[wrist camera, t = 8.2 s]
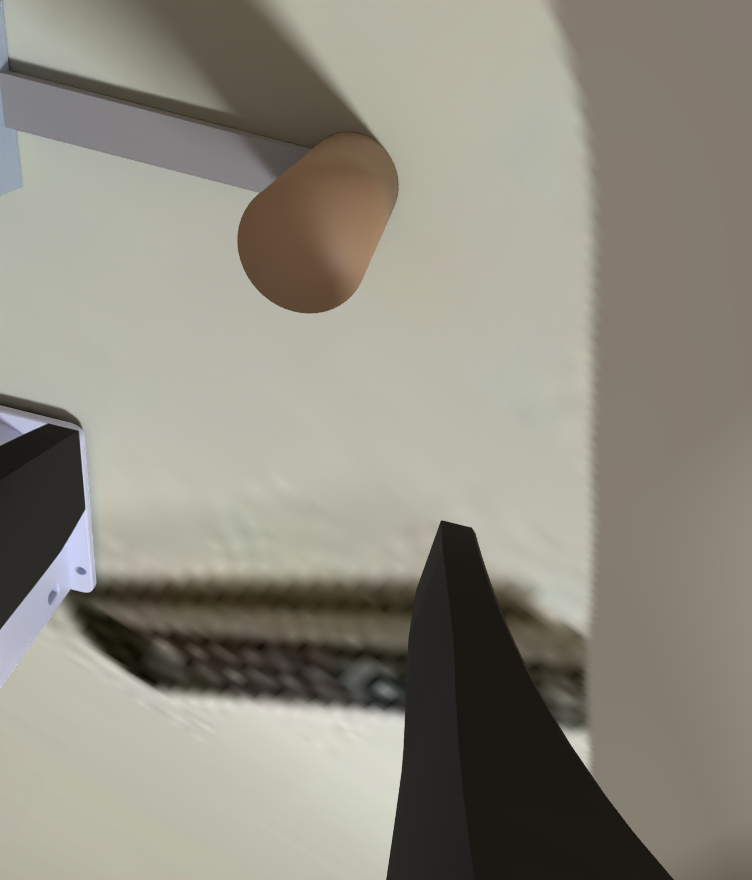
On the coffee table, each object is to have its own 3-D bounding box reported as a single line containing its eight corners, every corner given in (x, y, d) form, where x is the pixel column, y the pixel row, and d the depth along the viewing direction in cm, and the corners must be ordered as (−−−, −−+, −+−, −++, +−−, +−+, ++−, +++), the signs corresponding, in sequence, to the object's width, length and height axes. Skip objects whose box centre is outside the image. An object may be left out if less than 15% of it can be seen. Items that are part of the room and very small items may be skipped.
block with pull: (379, 278, 20) (345, 369, 15) (-136, 146, 20) (-340, 193, 15) (418, 102, 17) (392, 142, 12) (-183, -54, 17) (-456, -77, 12)
